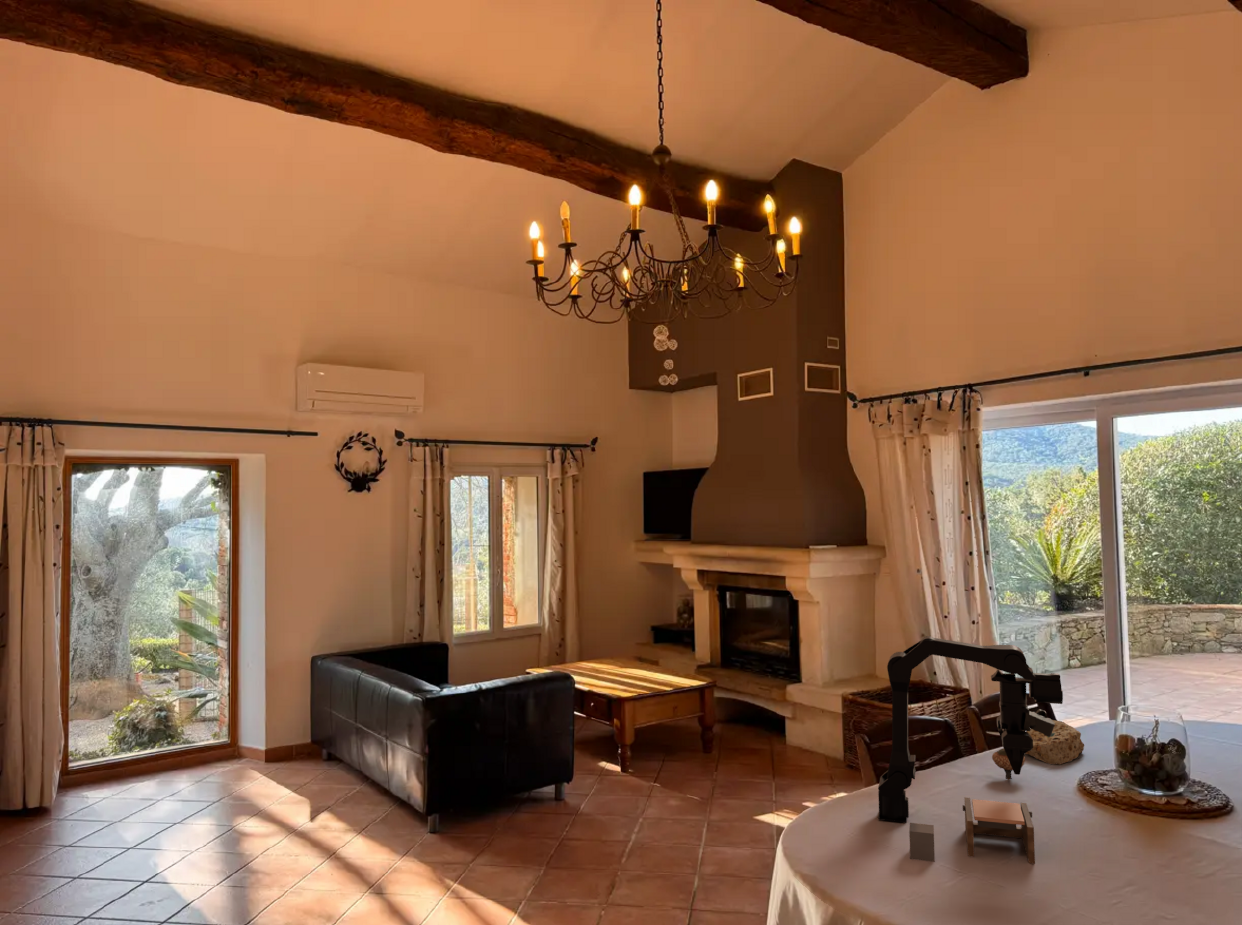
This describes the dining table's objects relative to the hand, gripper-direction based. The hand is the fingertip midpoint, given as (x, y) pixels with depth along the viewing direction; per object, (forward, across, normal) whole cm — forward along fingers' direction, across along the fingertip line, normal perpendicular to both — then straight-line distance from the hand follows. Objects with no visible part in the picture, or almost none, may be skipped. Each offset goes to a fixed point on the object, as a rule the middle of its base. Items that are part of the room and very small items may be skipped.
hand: (1015, 768), depth 202 cm
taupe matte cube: (+15, -20, +21) cm, 33 cm away
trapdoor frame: (+14, -10, +5) cm, 19 cm away
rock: (+15, +66, -16) cm, 69 cm away
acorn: (+15, +38, -2) cm, 40 cm away
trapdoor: (+12, -10, +5) cm, 16 cm away
